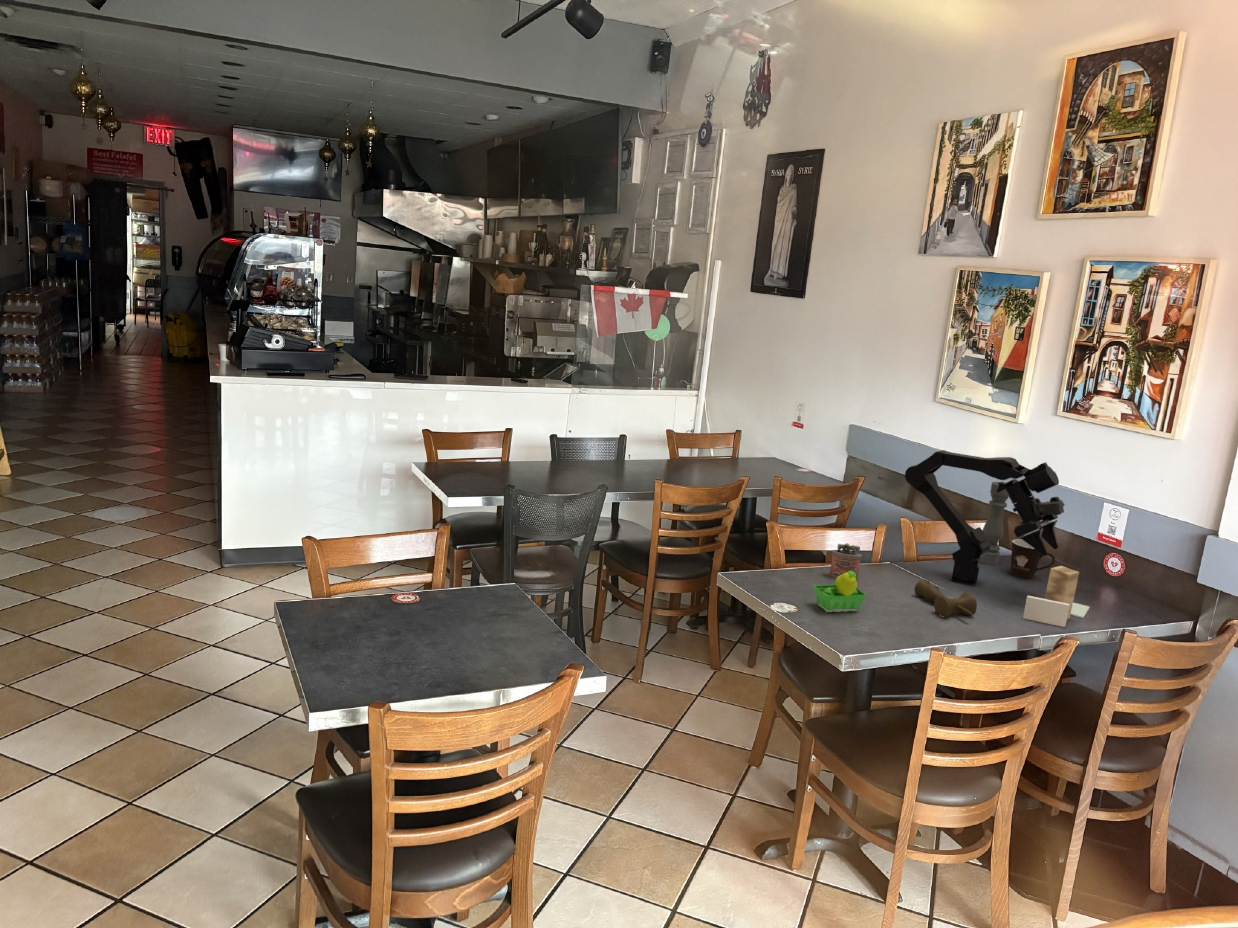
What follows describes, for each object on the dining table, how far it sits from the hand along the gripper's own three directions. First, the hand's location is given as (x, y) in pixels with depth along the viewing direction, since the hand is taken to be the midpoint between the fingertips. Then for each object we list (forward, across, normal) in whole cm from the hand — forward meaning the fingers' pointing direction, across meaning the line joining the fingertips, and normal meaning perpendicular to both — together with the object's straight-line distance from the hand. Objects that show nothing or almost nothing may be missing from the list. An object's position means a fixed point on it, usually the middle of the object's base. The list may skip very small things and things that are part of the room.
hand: (1051, 551), depth 243 cm
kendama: (+2, -28, +22) cm, 36 cm away
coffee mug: (+6, +20, +17) cm, 27 cm away
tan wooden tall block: (+15, -7, +5) cm, 17 cm away
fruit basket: (-9, -51, +36) cm, 64 cm away
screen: (+15, -14, +5) cm, 21 cm away
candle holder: (-3, +25, +28) cm, 37 cm away
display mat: (+15, +3, +5) cm, 16 cm away
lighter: (-16, -29, +45) cm, 56 cm away
